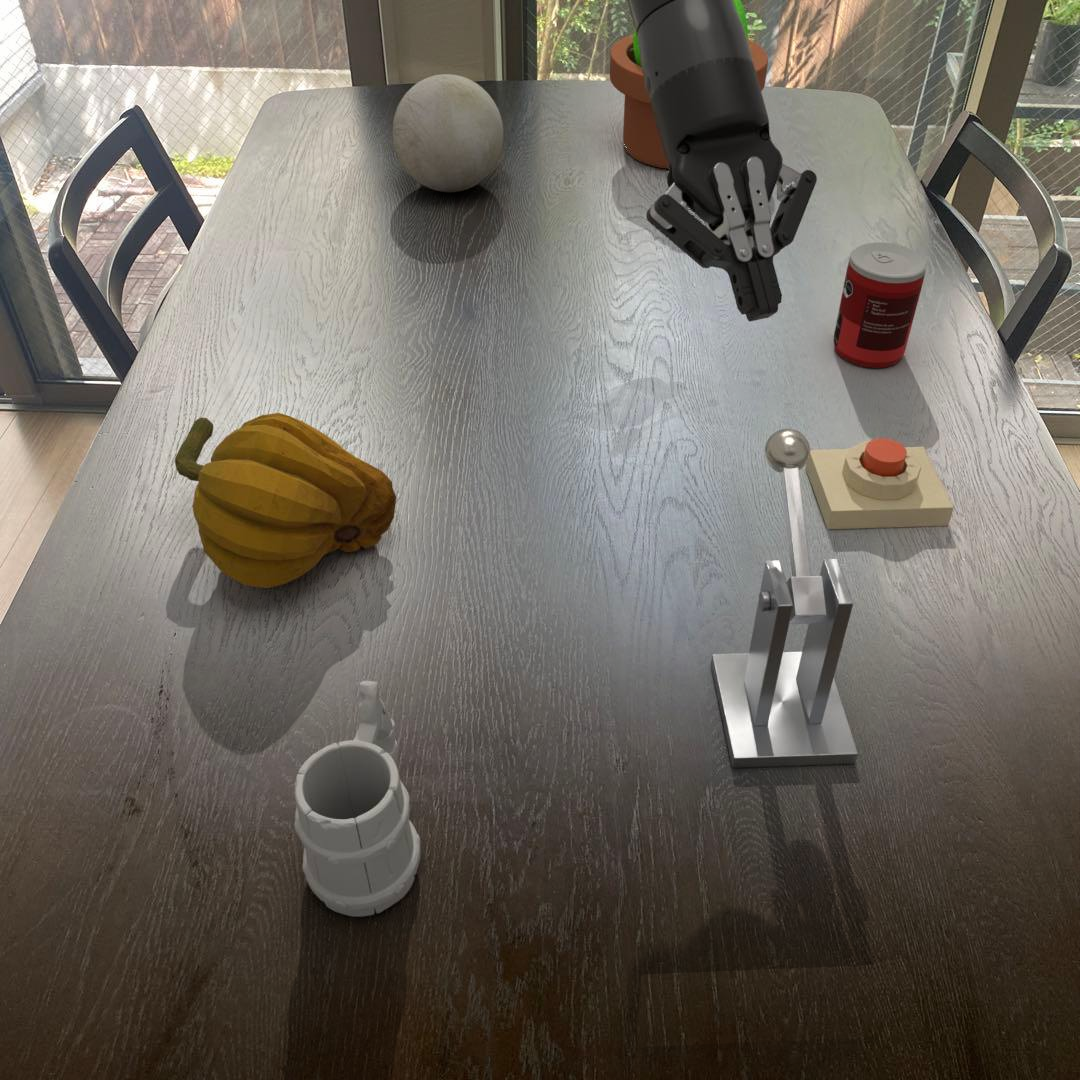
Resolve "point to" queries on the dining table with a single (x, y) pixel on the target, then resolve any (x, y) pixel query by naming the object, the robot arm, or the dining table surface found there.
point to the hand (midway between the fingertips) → (763, 316)
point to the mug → (357, 817)
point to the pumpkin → (281, 498)
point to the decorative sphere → (448, 133)
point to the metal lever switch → (787, 682)
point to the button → (884, 457)
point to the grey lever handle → (796, 525)
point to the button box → (877, 491)
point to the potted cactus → (638, 108)
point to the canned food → (878, 304)
